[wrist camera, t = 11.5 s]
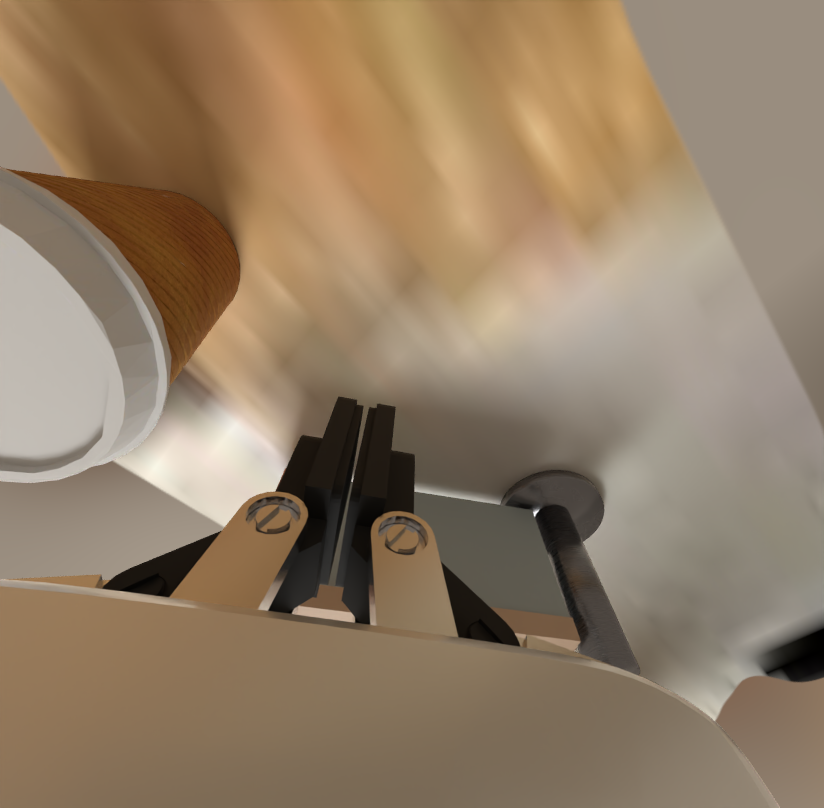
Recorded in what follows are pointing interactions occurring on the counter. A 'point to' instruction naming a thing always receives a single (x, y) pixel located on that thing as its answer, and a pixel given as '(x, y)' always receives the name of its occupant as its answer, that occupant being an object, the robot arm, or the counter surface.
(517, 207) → the counter surface
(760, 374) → the counter surface
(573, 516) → the hinge post
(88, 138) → the counter surface
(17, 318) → the disposable coffee cup
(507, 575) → the bar
